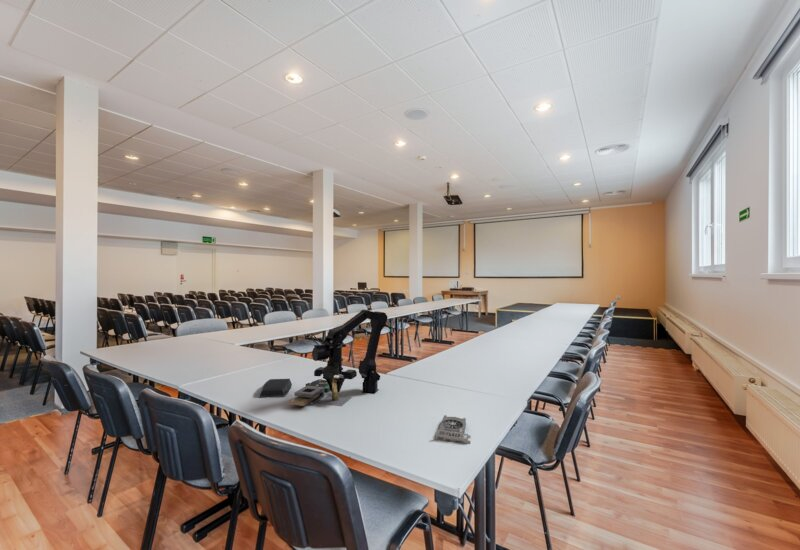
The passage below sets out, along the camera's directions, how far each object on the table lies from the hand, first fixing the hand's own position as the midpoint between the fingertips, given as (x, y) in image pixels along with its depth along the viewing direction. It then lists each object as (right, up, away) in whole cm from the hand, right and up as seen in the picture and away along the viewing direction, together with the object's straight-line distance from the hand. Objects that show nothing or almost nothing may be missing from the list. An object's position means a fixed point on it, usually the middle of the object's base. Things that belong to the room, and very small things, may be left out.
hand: (335, 392), depth 155 cm
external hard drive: (-32, -5, +14) cm, 35 cm away
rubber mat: (0, -4, 0) cm, 4 cm away
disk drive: (-9, -5, +18) cm, 21 cm away
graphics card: (+49, -5, -31) cm, 58 cm away
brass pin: (0, -4, 0) cm, 4 cm away
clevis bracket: (-12, -4, -3) cm, 13 cm away
